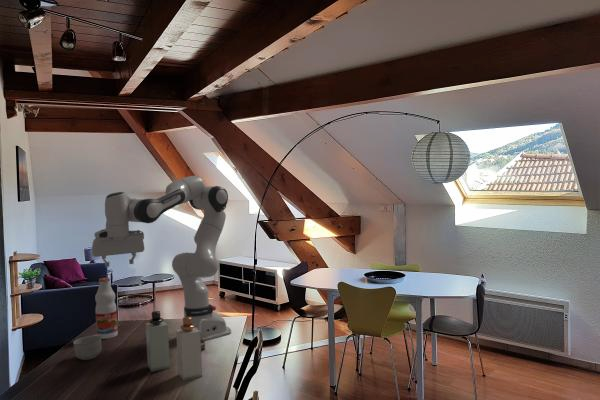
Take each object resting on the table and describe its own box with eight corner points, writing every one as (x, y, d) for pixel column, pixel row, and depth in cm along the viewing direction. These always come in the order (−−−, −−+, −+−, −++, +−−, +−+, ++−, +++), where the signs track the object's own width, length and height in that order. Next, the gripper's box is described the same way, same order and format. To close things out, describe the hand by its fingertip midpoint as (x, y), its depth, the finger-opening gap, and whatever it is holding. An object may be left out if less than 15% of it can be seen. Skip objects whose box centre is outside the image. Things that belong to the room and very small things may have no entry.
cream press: (196, 370, 187) (194, 326, 186) (202, 376, 181) (199, 331, 180) (178, 374, 184) (176, 329, 183) (183, 381, 178) (181, 334, 177)
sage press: (165, 362, 197) (163, 320, 197) (169, 367, 191) (167, 324, 191) (147, 366, 194) (145, 323, 193) (151, 371, 188) (149, 327, 187)
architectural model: (206, 351, 209) (205, 334, 209) (190, 355, 206) (189, 337, 206) (203, 349, 212) (202, 332, 212) (188, 353, 209) (187, 335, 209)
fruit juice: (117, 332, 242) (114, 275, 241) (118, 337, 234) (115, 279, 233) (97, 335, 239) (93, 278, 238) (96, 340, 230) (93, 281, 229)
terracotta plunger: (194, 362, 186) (192, 315, 185) (198, 367, 181) (196, 318, 181) (180, 365, 183) (178, 317, 183) (184, 370, 179) (182, 320, 178)
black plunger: (163, 354, 196) (161, 309, 195) (166, 358, 191) (164, 312, 191) (150, 357, 194) (147, 311, 193) (152, 361, 189) (150, 314, 188)
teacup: (91, 362, 201) (90, 343, 200) (68, 361, 203) (67, 342, 203) (111, 351, 214) (110, 332, 214) (89, 350, 216) (88, 332, 216)
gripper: (142, 229, 209) (144, 261, 210) (90, 233, 200) (92, 267, 200) (145, 230, 204) (146, 263, 204) (92, 234, 194) (94, 269, 195)
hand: (119, 265), depth 202 cm, fingers open, 8 cm apart
